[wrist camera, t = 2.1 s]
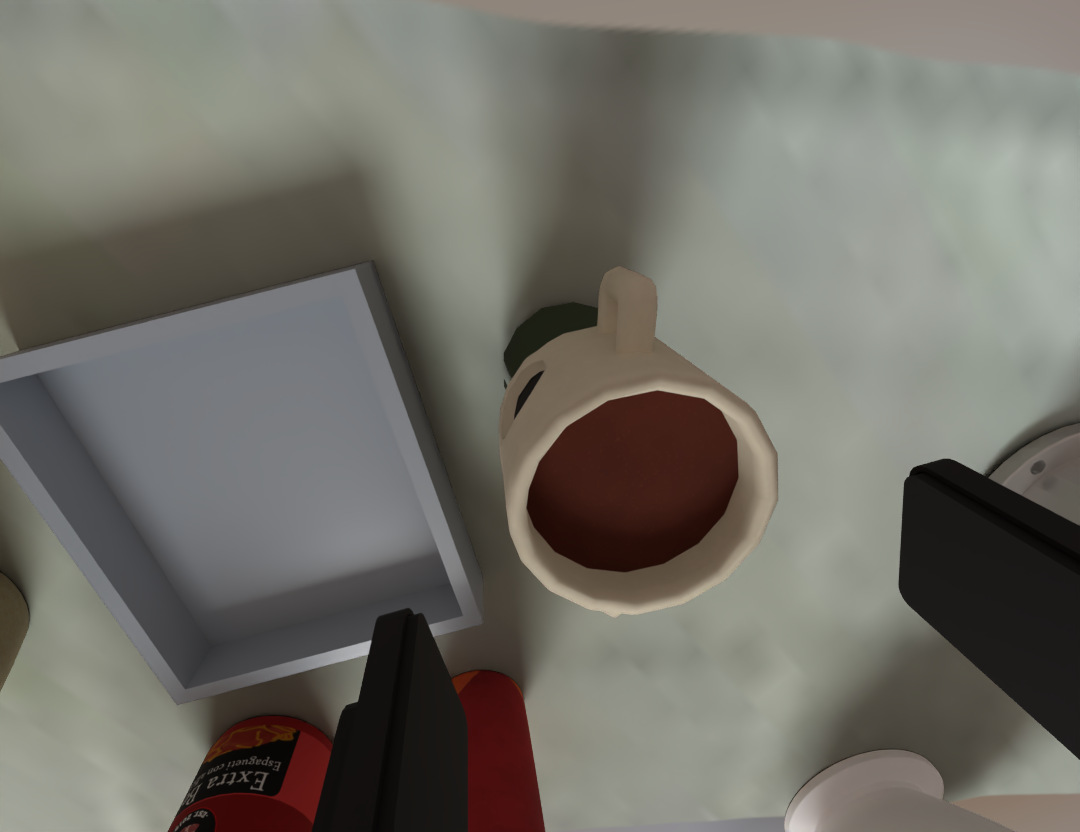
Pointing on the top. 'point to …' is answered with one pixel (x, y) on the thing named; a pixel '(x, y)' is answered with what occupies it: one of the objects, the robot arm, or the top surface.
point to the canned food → (258, 779)
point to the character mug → (627, 458)
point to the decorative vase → (881, 798)
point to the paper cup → (498, 755)
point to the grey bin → (244, 480)
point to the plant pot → (11, 625)
